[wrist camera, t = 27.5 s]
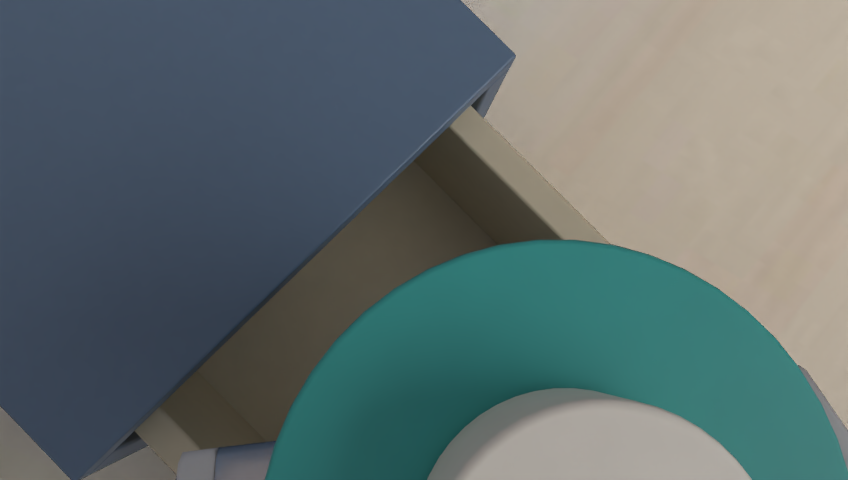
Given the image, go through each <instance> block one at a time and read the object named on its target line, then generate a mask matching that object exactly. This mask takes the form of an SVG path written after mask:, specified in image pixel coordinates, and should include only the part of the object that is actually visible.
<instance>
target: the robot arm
mask: <svg viewBox="0 0 848 480" xmlns="http://www.w3.org/2000/svg"><path fill="white" fill-rule="evenodd" d="M797 366H798V367H799V368H800V370H801V371H802V373H803V375H804V376H805V378H806V379H807V381H808V383H809V384H810V386H811V388H812V389H813V391H814V392H815V394H816V396H817V397H818V399H819V401H820V402H821V404H822V406H823V408H824V410H825V413H826V415H827V417H828V419H829V421H830V424H831V426H832V428H833V430H834V432H835V435H836V437H837V439H838V442H839V445H840V448H841V451H842V454H843V458H844V461H845V464H846V467H847V470H848V430H847V428H846V427H845V425H844V424H843V423H842V421H841V420H840V418H839V417H838V415H837V414H836V412H835V411H834V410H833V408H832V407H831V405H830V404H829V402H828V401H827V399H826V398H825V397H824V395H823V394H822V392H821V391H820V389H819V388H818V386H817V385H816V383H815V382H814V381H813V379H812V378H811V376H810V375H809V373H808V372H807V370H805V369H804V368H802V367H801V366H799V365H797ZM275 442H276V441H270V442H261V443H252V444H244V445H235V446H226V447H218V448H210V449H203V450H195V451H188V452H182V455H181V457H180V460H179V462H178V468H177V476H176V480H265V477H266V473H267V470H268V466H269V462H270V459H271V455H272V452H273V448H274V445H275Z"/></svg>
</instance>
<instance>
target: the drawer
mask: <svg viewBox="0 0 848 480" xmlns="http://www.w3.org/2000/svg"><path fill="white" fill-rule="evenodd" d="M531 240H581V241H589V242H596V243H603V244H610V243H609V242H608V241H607V240H606V239H605V238H604V237H603V236H602V235H601V234H600V233H599V232H598V231H597V230H596V229H595V228H594V227H593V226H592V225H591V224H590V223H589V222H588V221H587V220H586V219H585V218H584V217H583V216H582V215H581V214H580V213H579V212H578V211H577V210H576V209H575V208H574V207H573V206H572V205H570V204H569V203H568V202H567V201H566V200H565V199H564V198H563V197H562V196H561V195H560V194H559V193H558V192H557V191H556V190H555V189H554V188H553V187H552V186H551V185H550V184H549V183H548V182H547V181H546V180H545V179H544V178H543V177H542V176H541V175H540V174H539V173H538V172H537V171H536V170H535V169H534V168H533V167H532V166H531V165H530V164H529V163H528V162H527V161H526V160H525V159H524V158H523V157H522V156H521V155H520V154H519V153H518V152H517V151H516V150H515V149H514V148H513V147H512V146H511V145H510V144H509V143H508V142H507V141H506V140H505V139H504V138H503V137H502V136H501V135H500V134H499V133H498V132H497V131H496V130H495V129H494V128H493V127H492V126H491V125H490V124H489V123H488V122H487V121H486V120H485V119H484V118H483V117H482V116H481V115H480V114H479V113H478V112H477V111H476V110H475V109H474V108H473V107H472V106H470V107H469V108H468V109H466V110H465V111H464V112H463V113H462V114H461V115H460V116H459V117H458V118H457V119H456V120H455V121H454V122H453V123H452V124H451V125H450V126H449V127H448V128H447V129H446V130H445V131H444V132H443V133H442V134H441V135H440V136H439V137H438V138H437V139H435V140H434V141H433V142H432V143H431V144H430V145H429V146H428V147H427V148H426V149H425V150H424V151H423V152H422V153H421V154H420V155H419V156H418V157H417V158H416V159H415V160H414V161H413V162H412V163H411V164H410V165H409V166H408V167H407V168H406V169H404V170H403V171H402V172H401V173H400V174H399V175H398V176H397V177H396V178H395V179H394V180H393V181H392V182H391V183H390V184H389V185H388V186H387V187H386V188H385V189H384V190H383V191H382V192H381V193H380V194H379V195H378V196H377V197H376V198H375V199H373V200H372V201H371V202H370V203H369V204H368V205H367V206H366V207H365V208H364V209H363V210H362V211H361V212H360V213H359V214H358V215H357V216H356V217H355V218H354V219H353V220H352V221H351V222H350V223H349V224H348V225H347V226H346V227H345V228H344V229H343V230H341V231H340V232H339V233H338V234H337V235H336V236H335V237H334V238H333V239H332V240H331V241H330V242H329V243H328V244H327V245H326V246H325V247H324V248H323V249H322V250H321V251H320V252H319V253H318V254H317V255H316V256H315V257H314V258H313V259H312V260H310V261H309V262H308V263H307V264H306V265H305V266H304V267H303V268H302V269H301V270H300V271H299V272H298V273H297V274H296V275H295V276H294V277H293V278H292V279H291V280H290V281H289V282H288V283H287V284H286V285H285V286H284V287H283V288H282V289H281V290H279V291H278V292H277V293H276V294H275V295H274V296H273V297H272V298H271V299H270V300H269V301H268V302H267V303H266V304H265V305H264V306H263V307H262V308H261V309H260V310H259V311H258V312H257V313H256V314H255V315H254V316H253V317H252V318H251V319H250V320H248V321H247V322H246V323H245V324H244V325H243V326H242V327H241V328H240V329H239V330H238V331H237V332H236V333H235V334H234V335H233V336H232V337H231V338H230V339H229V340H228V341H227V342H226V343H225V344H224V345H223V346H222V347H221V348H220V349H219V350H217V351H216V352H215V353H214V354H213V355H212V356H211V357H210V358H209V359H208V360H207V361H206V362H205V363H204V364H203V365H202V366H201V367H200V368H199V369H198V370H197V371H196V372H195V373H194V374H193V375H192V376H191V377H190V378H189V379H188V380H186V381H185V382H184V383H183V384H182V385H181V386H180V387H179V388H178V389H177V390H176V391H175V392H174V393H173V394H172V395H171V396H170V397H169V398H168V399H167V400H166V401H165V402H164V403H163V404H162V405H161V406H160V407H159V408H158V409H157V410H155V411H154V412H153V413H152V414H151V415H150V416H149V417H148V418H147V419H146V420H145V421H144V422H143V423H142V424H141V425H140V426H139V427H138V428H137V429H136V430H135V432H136V433H137V434H138V436H139V437H140V438H141V439H142V440H143V441H144V442H145V443H146V444H147V445H148V446H149V447H150V448H151V449H152V450H153V451H154V452H155V453H156V454H157V455H158V456H159V457H160V458H161V459H162V460H163V461H164V462H165V463H166V465H167V466H168V467H169V468H170V469H171V470H172V471H173V472H174V473H175V474H176V475H177V468H178V462H179V460H180V457H181V455H182V452H188V451H195V450H203V449H210V448H218V447H226V446H235V445H244V444H252V443H261V442H270V441H276V440H277V438H278V435H279V433H280V430H281V428H282V426H283V423H284V421H285V419H286V416H287V414H288V412H289V409H290V407H291V405H292V403H293V402H294V400H295V398H296V397H297V395H298V393H299V391H300V390H301V388H302V386H303V385H304V383H305V381H306V379H307V378H308V376H309V374H310V373H311V371H312V370H313V369H314V367H315V366H316V365H317V363H318V362H319V361H320V359H321V358H322V357H323V356H324V354H325V353H326V352H327V350H328V349H329V348H330V346H331V345H332V344H333V343H334V341H335V340H336V339H337V338H338V337H339V336H340V335H341V334H342V333H343V332H344V331H345V330H346V329H347V328H348V327H349V326H350V325H351V324H352V323H353V322H354V321H355V320H356V319H357V318H358V317H359V316H360V315H361V314H362V313H363V312H364V311H366V310H367V309H368V308H369V307H371V306H372V305H373V304H375V303H376V302H377V301H379V300H380V299H381V298H382V297H384V296H385V295H386V294H388V293H389V292H390V291H392V290H393V289H394V288H396V287H398V286H399V285H401V284H403V283H405V282H406V281H408V280H410V279H411V278H413V277H415V276H417V275H418V274H420V273H422V272H424V271H425V270H427V269H429V268H431V267H434V266H436V265H439V264H441V263H444V262H446V261H448V260H451V259H453V258H456V257H458V256H460V255H463V254H466V253H470V252H474V251H478V250H481V249H485V248H489V247H493V246H496V245H500V244H508V243H515V242H523V241H531Z"/></svg>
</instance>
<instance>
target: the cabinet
mask: <svg viewBox="0 0 848 480" xmlns="http://www.w3.org/2000/svg"><path fill="white" fill-rule="evenodd" d="M515 57H516V55H515V54H514V53H513V52H512V51H511V50H510V49H509V48H508V47H507V46H506V45H505V44H504V43H503V42H502V41H501V40H500V39H499V38H498V37H497V36H496V35H495V34H494V33H493V32H492V31H491V30H490V29H489V28H488V27H487V26H486V25H485V24H484V23H483V22H482V21H481V20H480V19H479V18H478V17H477V16H476V15H475V14H474V13H473V12H472V11H471V10H470V9H469V8H468V7H467V6H466V5H465V4H464V3H463V2H462V1H461V0H0V406H1V407H2V408H3V409H4V410H5V411H6V412H7V413H8V414H9V415H10V416H11V418H12V419H13V420H14V421H15V422H16V423H17V424H18V425H19V426H20V427H21V428H22V429H23V430H24V431H25V432H26V433H27V434H28V435H29V436H30V437H31V438H32V439H33V440H34V442H35V443H36V444H37V445H38V446H39V447H40V448H41V449H42V450H43V451H44V452H45V453H46V454H47V455H48V456H49V457H50V458H51V459H52V460H53V461H54V462H55V463H56V464H57V466H58V467H59V468H60V469H61V470H62V471H63V472H64V473H65V474H66V475H67V476H68V477H69V478H70V479H71V480H81V479H83V478H85V477H87V476H88V475H90V474H92V473H94V472H96V471H98V470H100V469H102V468H104V467H106V466H108V465H110V464H112V463H114V462H116V461H118V460H120V459H122V458H124V457H126V456H128V455H130V454H132V453H134V452H136V451H138V450H140V449H142V448H144V447H146V446H148V445H147V444H146V443H145V442H144V441H143V440H142V439H141V438H140V437H139V436H138V434H137V433H136V432H135V430H136V429H137V428H138V427H139V426H140V425H141V424H142V423H143V422H144V421H145V420H146V419H147V418H148V417H149V416H150V415H151V414H152V413H153V412H154V411H155V410H157V409H158V408H159V407H160V406H161V405H162V404H163V403H164V402H165V401H166V400H167V399H168V398H169V397H170V396H171V395H172V394H173V393H174V392H175V391H176V390H177V389H178V388H179V387H180V386H181V385H182V384H183V383H184V382H185V381H186V380H188V379H189V378H190V377H191V376H192V375H193V374H194V373H195V372H196V371H197V370H198V369H199V368H200V367H201V366H202V365H203V364H204V363H205V362H206V361H207V360H208V359H209V358H210V357H211V356H212V355H213V354H214V353H215V352H216V351H217V350H219V349H220V348H221V347H222V346H223V345H224V344H225V343H226V342H227V341H228V340H229V339H230V338H231V337H232V336H233V335H234V334H235V333H236V332H237V331H238V330H239V329H240V328H241V327H242V326H243V325H244V324H245V323H246V322H247V321H248V320H250V319H251V318H252V317H253V316H254V315H255V314H256V313H257V312H258V311H259V310H260V309H261V308H262V307H263V306H264V305H265V304H266V303H267V302H268V301H269V300H270V299H271V298H272V297H273V296H274V295H275V294H276V293H277V292H278V291H279V290H281V289H282V288H283V287H284V286H285V285H286V284H287V283H288V282H289V281H290V280H291V279H292V278H293V277H294V276H295V275H296V274H297V273H298V272H299V271H300V270H301V269H302V268H303V267H304V266H305V265H306V264H307V263H308V262H309V261H310V260H312V259H313V258H314V257H315V256H316V255H317V254H318V253H319V252H320V251H321V250H322V249H323V248H324V247H325V246H326V245H327V244H328V243H329V242H330V241H331V240H332V239H333V238H334V237H335V236H336V235H337V234H338V233H339V232H340V231H341V230H343V229H344V228H345V227H346V226H347V225H348V224H349V223H350V222H351V221H352V220H353V219H354V218H355V217H356V216H357V215H358V214H359V213H360V212H361V211H362V210H363V209H364V208H365V207H366V206H367V205H368V204H369V203H370V202H371V201H372V200H373V199H375V198H376V197H377V196H378V195H379V194H380V193H381V192H382V191H383V190H384V189H385V188H386V187H387V186H388V185H389V184H390V183H391V182H392V181H393V180H394V179H395V178H396V177H397V176H398V175H399V174H400V173H401V172H402V171H403V170H404V169H406V168H407V167H408V166H409V165H410V164H411V163H412V162H413V161H414V160H415V159H416V158H417V157H418V156H419V155H420V154H421V153H422V152H423V151H424V150H425V149H426V148H427V147H428V146H429V145H430V144H431V143H432V142H433V141H434V140H435V139H437V138H438V137H439V136H440V135H441V134H442V133H443V132H444V131H445V130H446V129H447V128H448V127H449V126H450V125H451V124H452V123H453V122H454V121H455V120H456V119H457V118H458V117H459V116H460V115H461V114H462V113H463V112H464V111H465V110H466V109H468V108H469V107H470V106H472V107H473V108H474V109H475V110H476V111H477V112H478V113H479V114H480V115H481V116H482V117H483V118H484V117H485V115H486V113H487V111H488V109H489V107H490V105H491V103H492V101H493V99H494V97H495V95H496V93H497V91H498V89H499V87H500V85H501V83H502V81H503V79H504V78H505V76H506V74H507V72H508V70H509V68H510V67H511V65H512V63H513V61H514V59H515Z"/></svg>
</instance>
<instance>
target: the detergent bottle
mask: <svg viewBox="0 0 848 480" xmlns="http://www.w3.org/2000/svg"><path fill="white" fill-rule="evenodd" d="M265 480H848V470H847V467H846V464H845V461H844V458H843V454H842V451H841V448H840V445H839V442H838V439H837V437H836V435H835V432H834V430H833V428H832V426H831V424H830V421H829V419H828V417H827V415H826V413H825V410H824V408H823V406H822V404H821V402H820V401H819V399H818V397H817V396H816V394H815V392H814V391H813V389H812V388H811V386H810V384H809V383H808V381H807V379H806V378H805V376H804V375H803V373H802V371H801V370H800V368H799V367H798V366H797V365H796V363H795V362H794V361H793V360H792V358H791V357H790V356H789V355H788V353H787V352H786V351H785V350H784V348H783V347H782V346H781V345H780V343H779V342H778V341H777V340H776V338H775V337H774V336H773V335H772V334H771V333H770V332H769V331H768V330H767V329H766V328H764V327H763V326H762V325H761V324H760V323H759V322H758V321H757V320H756V319H755V318H754V317H753V316H752V315H751V314H750V313H749V312H748V311H747V310H746V309H744V308H743V307H742V306H740V305H739V304H738V303H736V302H735V301H734V300H732V299H731V298H730V297H728V296H727V295H726V294H724V293H723V292H722V291H720V290H719V289H718V288H716V287H714V286H713V285H711V284H709V283H707V282H706V281H704V280H702V279H701V278H699V277H697V276H695V275H694V274H692V273H690V272H688V271H687V270H685V269H683V268H680V267H678V266H675V265H673V264H671V263H668V262H666V261H663V260H661V259H659V258H656V257H654V256H651V255H649V254H645V253H641V252H638V251H634V250H630V249H627V248H623V247H619V246H616V245H611V244H603V243H596V242H589V241H581V240H531V241H523V242H515V243H508V244H500V245H496V246H493V247H489V248H485V249H481V250H478V251H474V252H470V253H466V254H463V255H460V256H458V257H456V258H453V259H451V260H448V261H446V262H444V263H441V264H439V265H436V266H434V267H431V268H429V269H427V270H425V271H424V272H422V273H420V274H418V275H417V276H415V277H413V278H411V279H410V280H408V281H406V282H405V283H403V284H401V285H399V286H398V287H396V288H394V289H393V290H392V291H390V292H389V293H388V294H386V295H385V296H384V297H382V298H381V299H380V300H379V301H377V302H376V303H375V304H373V305H372V306H371V307H369V308H368V309H367V310H366V311H364V312H363V313H362V314H361V315H360V316H359V317H358V318H357V319H356V320H355V321H354V322H353V323H352V324H351V325H350V326H349V327H348V328H347V329H346V330H345V331H344V332H343V333H342V334H341V335H340V336H339V337H338V338H337V339H336V340H335V341H334V343H333V344H332V345H331V346H330V348H329V349H328V350H327V352H326V353H325V354H324V356H323V357H322V358H321V359H320V361H319V362H318V363H317V365H316V366H315V367H314V369H313V370H312V371H311V373H310V374H309V376H308V378H307V379H306V381H305V383H304V385H303V386H302V388H301V390H300V391H299V393H298V395H297V397H296V398H295V400H294V402H293V403H292V405H291V407H290V409H289V412H288V414H287V416H286V419H285V421H284V423H283V426H282V428H281V430H280V433H279V435H278V438H277V440H276V442H275V445H274V448H273V452H272V455H271V459H270V462H269V466H268V470H267V473H266V477H265Z"/></svg>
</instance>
